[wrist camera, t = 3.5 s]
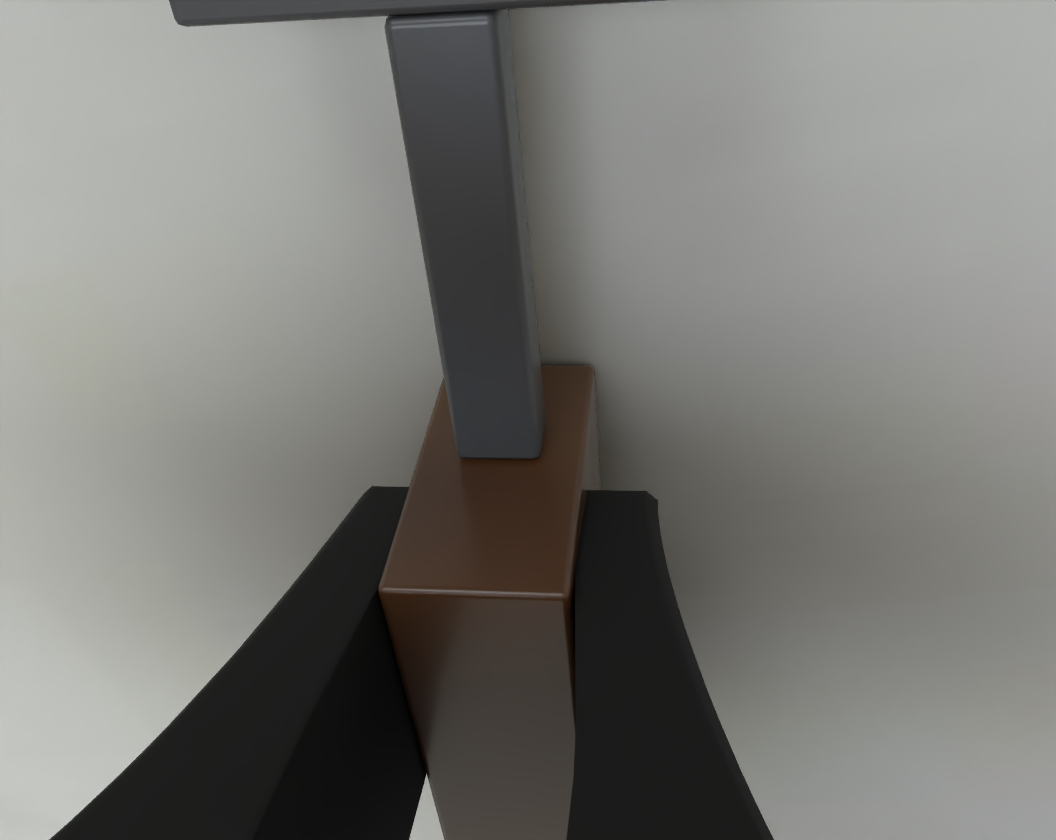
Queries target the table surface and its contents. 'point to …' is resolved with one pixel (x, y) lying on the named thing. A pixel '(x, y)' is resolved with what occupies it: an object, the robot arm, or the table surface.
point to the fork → (478, 434)
